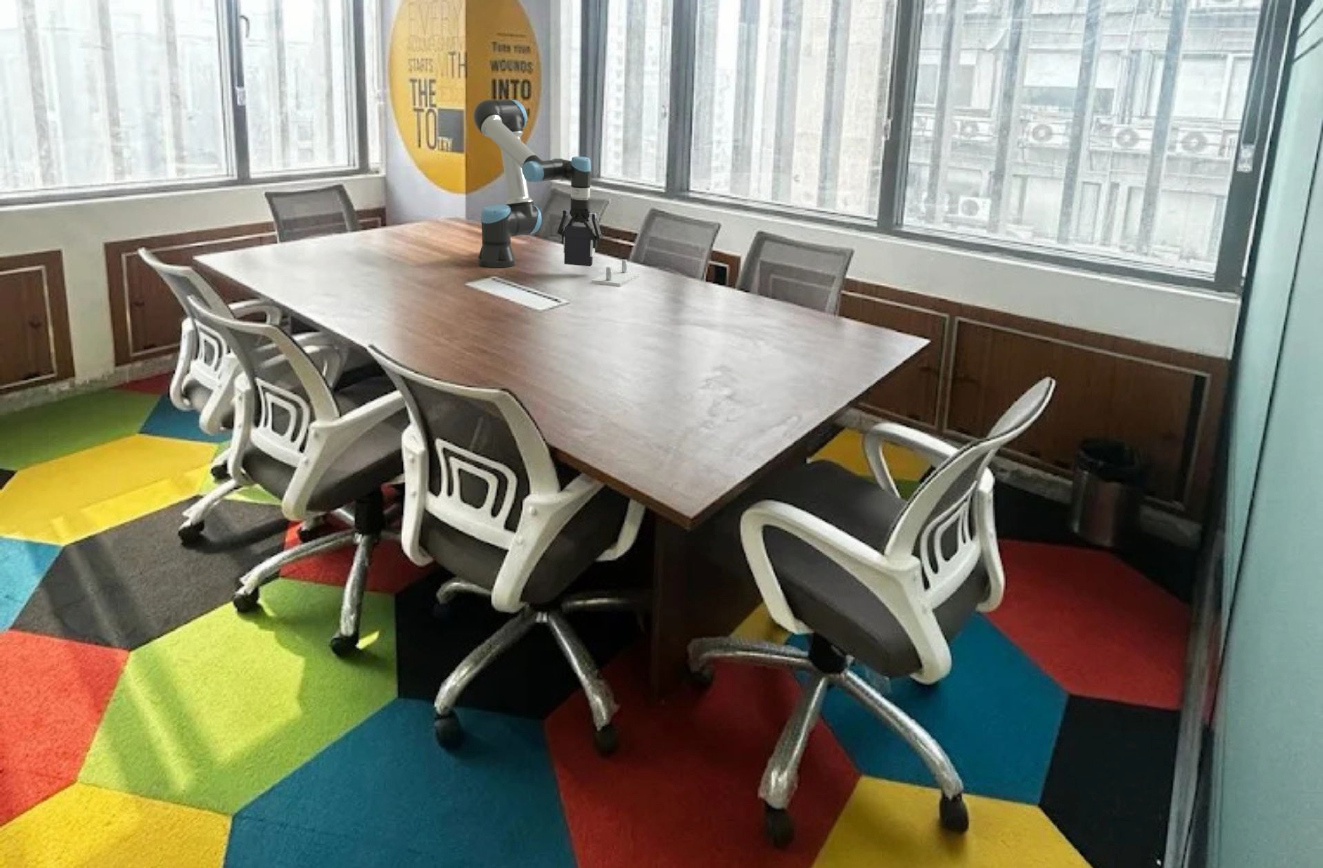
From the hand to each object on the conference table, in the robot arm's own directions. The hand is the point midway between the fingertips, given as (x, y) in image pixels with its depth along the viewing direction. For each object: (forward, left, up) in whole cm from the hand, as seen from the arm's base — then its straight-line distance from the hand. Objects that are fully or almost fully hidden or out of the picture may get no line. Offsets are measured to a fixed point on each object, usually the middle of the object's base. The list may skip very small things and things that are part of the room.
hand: (579, 254), depth 382 cm
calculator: (0, 0, -4) cm, 4 cm away
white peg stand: (+16, 0, -8) cm, 18 cm away
